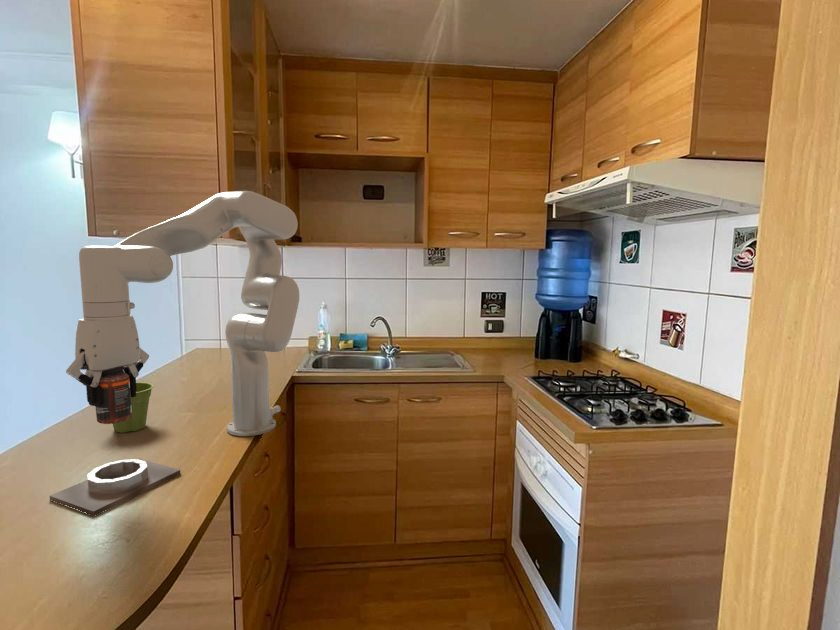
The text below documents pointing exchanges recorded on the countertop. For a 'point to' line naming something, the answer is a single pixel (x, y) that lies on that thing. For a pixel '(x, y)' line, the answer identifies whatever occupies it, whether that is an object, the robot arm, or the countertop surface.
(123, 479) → the steel collar
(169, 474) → the holder board
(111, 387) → the supplement bottle
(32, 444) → the countertop surface
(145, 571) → the countertop surface
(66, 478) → the countertop surface
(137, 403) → the plant pot
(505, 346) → the countertop surface
